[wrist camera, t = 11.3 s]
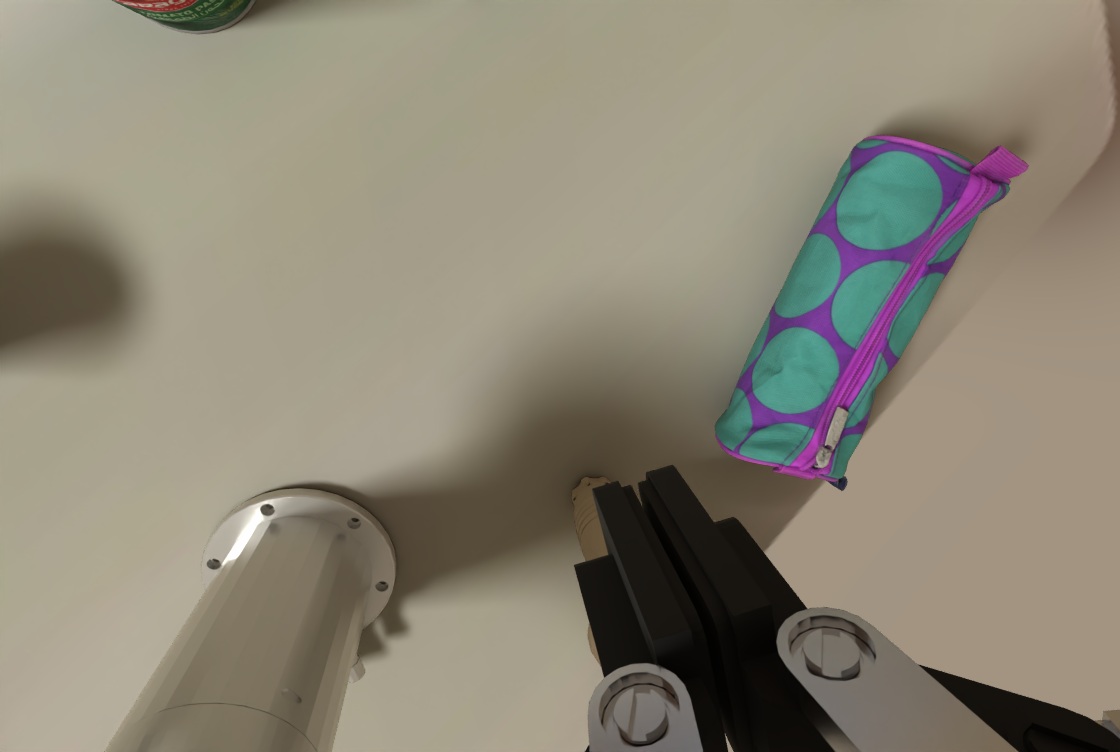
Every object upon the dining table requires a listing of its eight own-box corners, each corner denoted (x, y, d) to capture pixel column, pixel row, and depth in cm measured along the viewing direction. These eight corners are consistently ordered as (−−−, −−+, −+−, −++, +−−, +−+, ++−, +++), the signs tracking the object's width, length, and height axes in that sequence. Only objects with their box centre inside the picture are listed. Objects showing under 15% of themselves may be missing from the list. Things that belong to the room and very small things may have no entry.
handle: (578, 446, 41) (635, 587, 27) (645, 488, 43) (730, 640, 29) (537, 496, 42) (572, 658, 28) (605, 536, 44) (669, 706, 30)
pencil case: (791, 449, 44) (874, 520, 35) (690, 418, 42) (750, 485, 33) (932, 178, 39) (1073, 180, 30) (824, 126, 36) (941, 111, 27)
